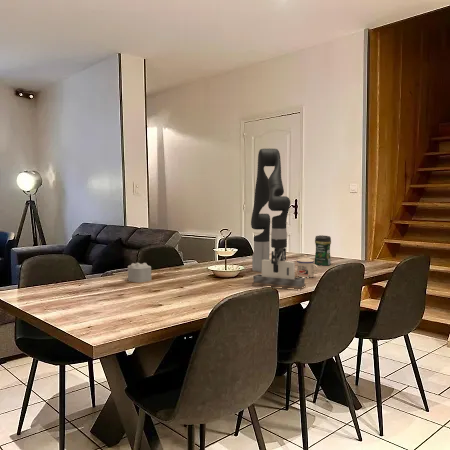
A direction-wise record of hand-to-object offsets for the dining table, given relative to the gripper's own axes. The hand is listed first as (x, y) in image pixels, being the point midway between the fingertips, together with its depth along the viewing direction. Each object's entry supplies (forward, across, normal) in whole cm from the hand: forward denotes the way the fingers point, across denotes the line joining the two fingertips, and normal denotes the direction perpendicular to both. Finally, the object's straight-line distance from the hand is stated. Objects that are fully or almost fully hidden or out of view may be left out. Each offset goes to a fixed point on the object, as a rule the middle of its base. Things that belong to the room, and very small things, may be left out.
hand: (278, 270), depth 217 cm
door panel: (+6, 0, 0) cm, 6 cm away
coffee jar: (+8, -72, +3) cm, 72 cm away
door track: (+8, 0, 0) cm, 8 cm away
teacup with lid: (+8, -29, +6) cm, 31 cm away
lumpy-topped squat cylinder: (+8, +16, -72) cm, 74 cm away
